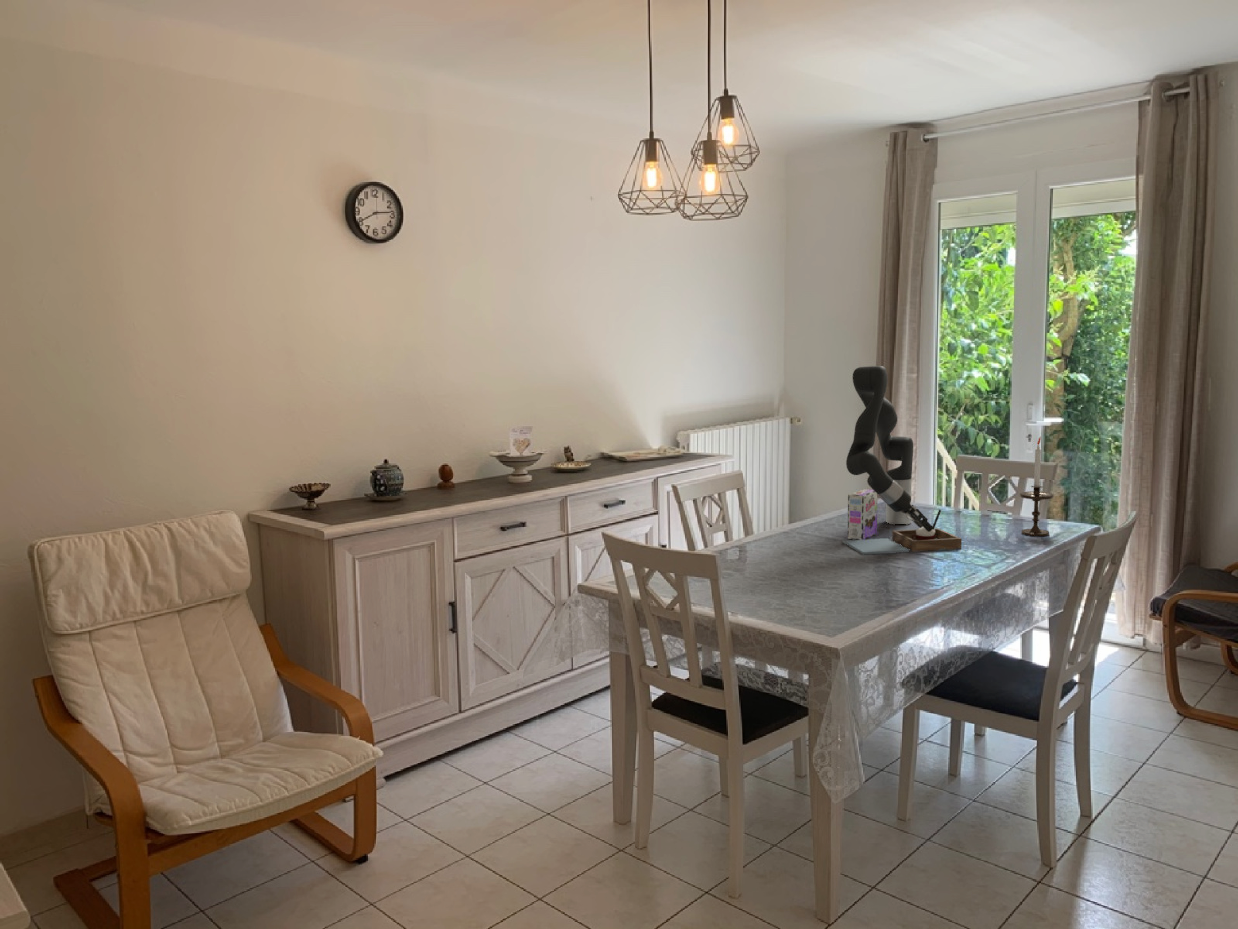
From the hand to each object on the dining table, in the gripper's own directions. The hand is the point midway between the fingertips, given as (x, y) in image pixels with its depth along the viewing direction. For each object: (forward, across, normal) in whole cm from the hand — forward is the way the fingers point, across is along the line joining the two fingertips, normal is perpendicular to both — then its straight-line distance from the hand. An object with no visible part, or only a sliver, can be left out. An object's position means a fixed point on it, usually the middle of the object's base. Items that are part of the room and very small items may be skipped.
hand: (926, 527), depth 318 cm
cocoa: (+4, 0, +4) cm, 6 cm away
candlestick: (+35, +7, -27) cm, 45 cm away
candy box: (-7, +17, +16) cm, 24 cm away
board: (-9, 0, +17) cm, 19 cm away
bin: (+4, 0, +4) cm, 6 cm away
